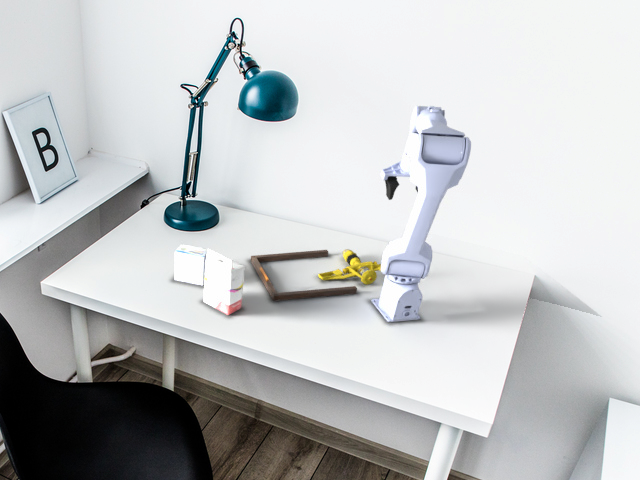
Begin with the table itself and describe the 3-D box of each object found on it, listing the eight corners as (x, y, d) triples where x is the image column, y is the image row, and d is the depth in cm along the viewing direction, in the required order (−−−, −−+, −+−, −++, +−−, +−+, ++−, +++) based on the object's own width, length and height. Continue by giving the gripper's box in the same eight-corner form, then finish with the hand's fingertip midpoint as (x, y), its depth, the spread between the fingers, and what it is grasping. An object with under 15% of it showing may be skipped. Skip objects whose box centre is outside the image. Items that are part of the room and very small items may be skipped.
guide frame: (356, 293, 162) (357, 287, 160) (273, 300, 160) (274, 294, 159) (325, 254, 178) (327, 248, 177) (250, 260, 176) (251, 254, 175)
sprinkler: (376, 239, 174) (403, 265, 162) (375, 252, 176) (402, 279, 164) (305, 254, 174) (327, 281, 162) (305, 267, 176) (327, 295, 164)
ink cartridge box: (242, 308, 157) (247, 254, 149) (228, 316, 155) (232, 261, 146) (216, 294, 163) (220, 241, 154) (202, 301, 160) (205, 248, 151)
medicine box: (208, 278, 169) (210, 248, 164) (202, 286, 166) (204, 256, 161) (180, 272, 172) (181, 243, 167) (173, 280, 168) (174, 250, 163)
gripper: (439, 135, 157) (424, 178, 169) (380, 147, 158) (370, 189, 169) (452, 154, 153) (436, 196, 165) (392, 166, 153) (380, 207, 165)
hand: (403, 194), depth 166 cm, fingers open, 7 cm apart
